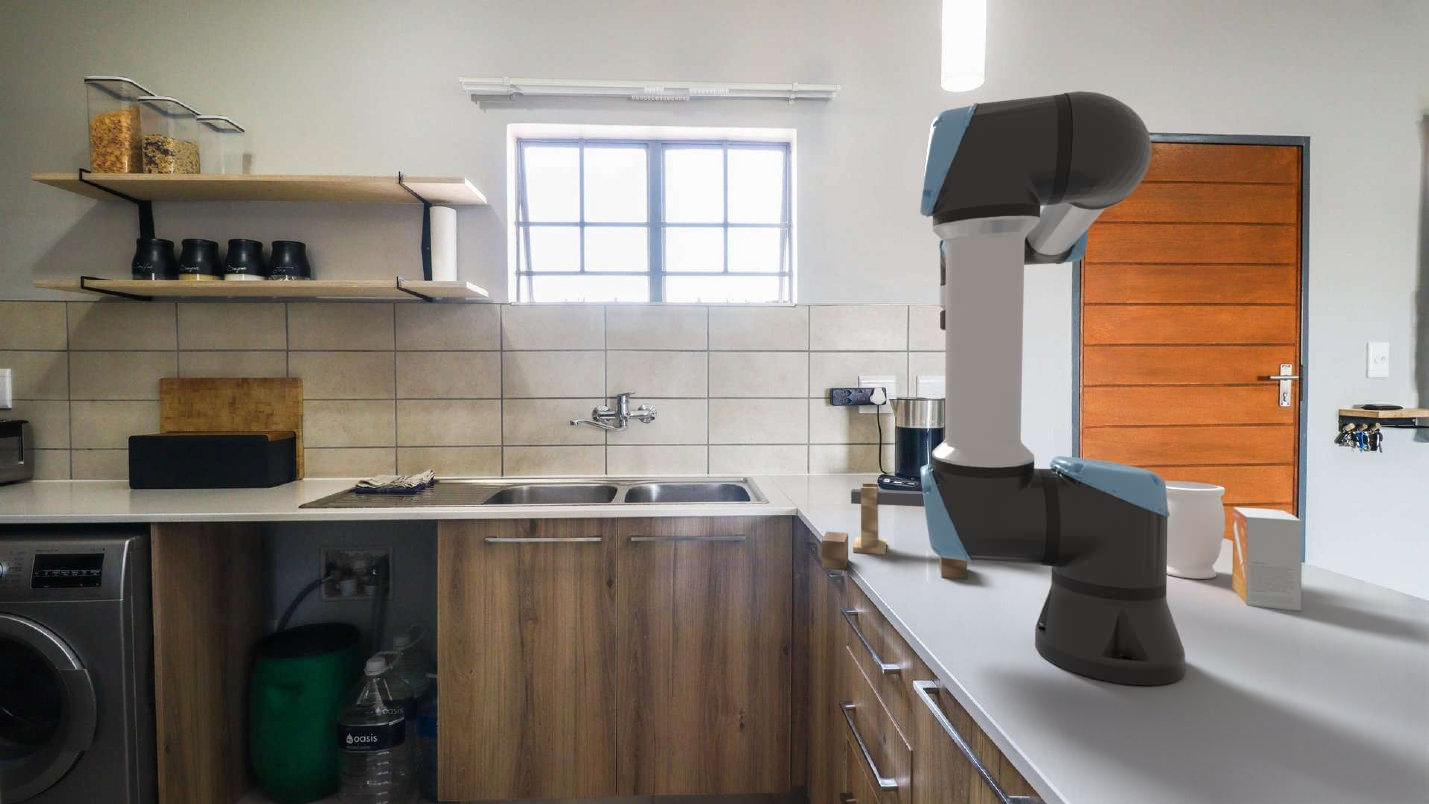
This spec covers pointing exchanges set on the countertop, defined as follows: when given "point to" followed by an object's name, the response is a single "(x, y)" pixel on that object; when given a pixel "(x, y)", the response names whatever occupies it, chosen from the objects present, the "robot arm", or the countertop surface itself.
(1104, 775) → the countertop surface
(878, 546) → the hook stand
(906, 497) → the rail
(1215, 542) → the jar
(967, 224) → the robot arm
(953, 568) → the block
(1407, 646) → the countertop surface
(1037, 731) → the countertop surface
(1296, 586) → the small box
